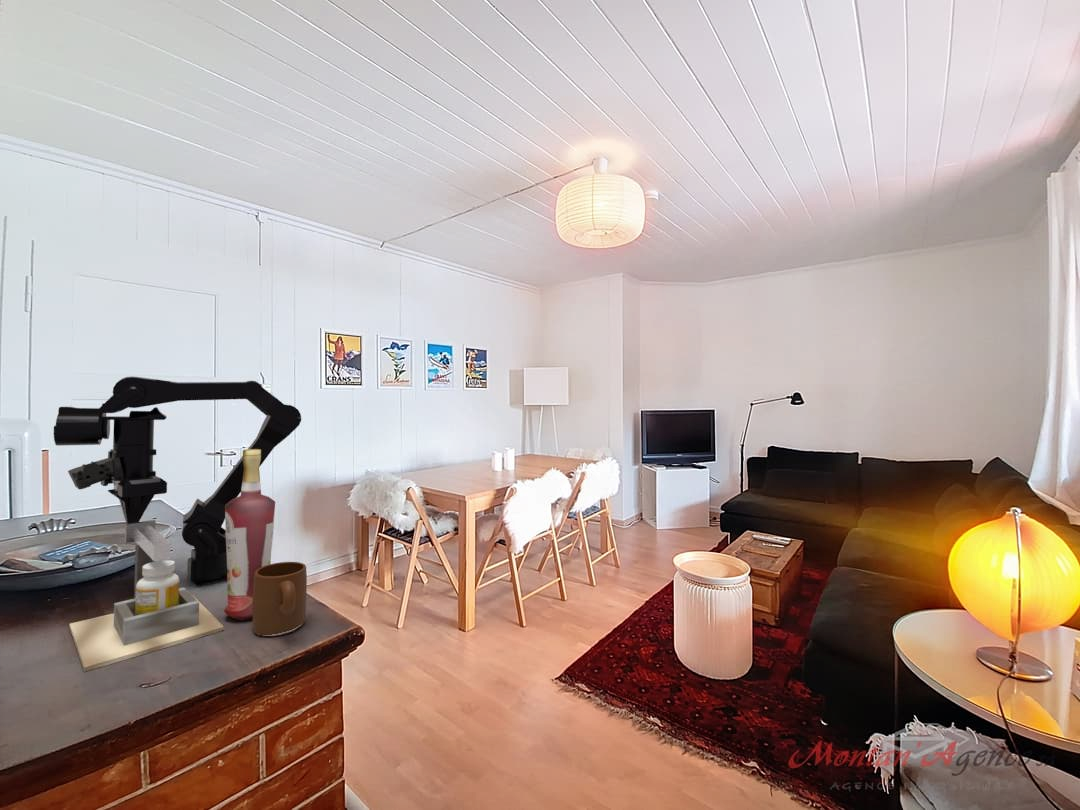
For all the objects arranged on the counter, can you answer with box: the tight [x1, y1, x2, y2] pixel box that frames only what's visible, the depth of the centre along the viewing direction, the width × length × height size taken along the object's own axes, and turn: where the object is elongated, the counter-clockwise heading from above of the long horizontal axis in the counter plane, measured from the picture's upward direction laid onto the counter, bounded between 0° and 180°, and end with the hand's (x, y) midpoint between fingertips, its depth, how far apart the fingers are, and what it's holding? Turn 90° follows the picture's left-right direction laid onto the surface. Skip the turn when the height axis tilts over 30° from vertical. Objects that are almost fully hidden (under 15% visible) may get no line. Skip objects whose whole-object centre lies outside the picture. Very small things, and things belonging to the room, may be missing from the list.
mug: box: [252, 561, 308, 636], centre depth 75 cm, size 12×8×9 cm, turn 37°
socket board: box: [69, 544, 225, 673], centre depth 75 cm, size 16×18×11 cm
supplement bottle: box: [135, 559, 180, 616], centre depth 75 cm, size 5×5×10 cm
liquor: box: [223, 448, 276, 621], centre depth 81 cm, size 7×7×28 cm
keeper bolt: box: [124, 519, 171, 561], centre depth 79 cm, size 4×17×3 cm, turn 49°
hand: (131, 527), depth 89 cm, fingers closed
